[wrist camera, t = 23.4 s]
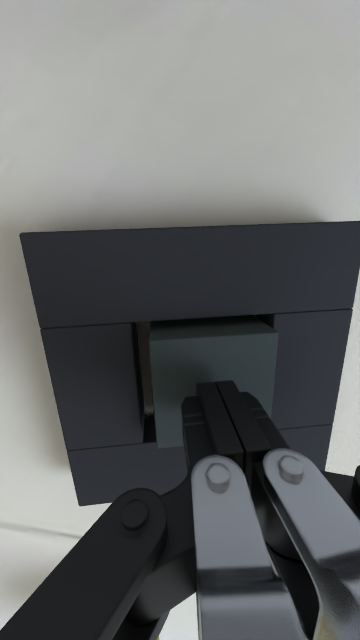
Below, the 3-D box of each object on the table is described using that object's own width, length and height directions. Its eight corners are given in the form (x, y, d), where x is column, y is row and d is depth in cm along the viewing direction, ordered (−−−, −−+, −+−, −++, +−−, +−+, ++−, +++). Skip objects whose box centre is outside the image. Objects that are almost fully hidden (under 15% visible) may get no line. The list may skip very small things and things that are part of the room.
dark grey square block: (150, 319, 12) (148, 340, 9) (252, 313, 13) (279, 332, 10) (157, 407, 14) (157, 449, 11) (247, 400, 14) (269, 438, 11)
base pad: (42, 235, 11) (17, 232, 9) (334, 225, 12) (369, 220, 10) (88, 473, 15) (78, 507, 13) (304, 450, 16) (324, 478, 14)
